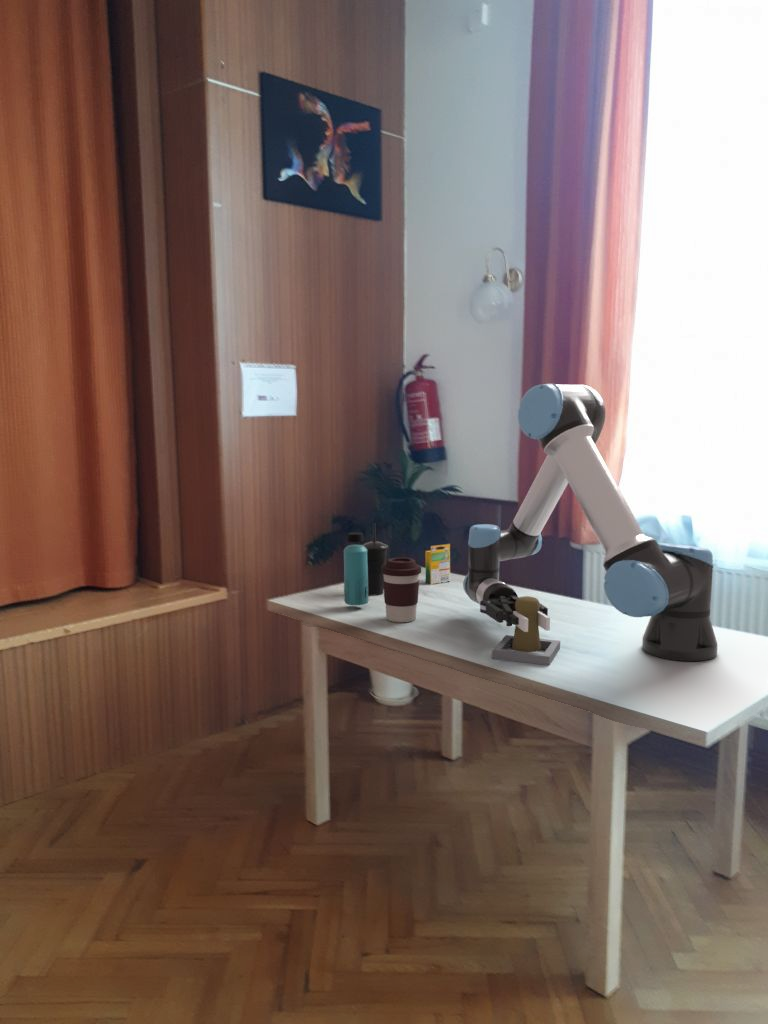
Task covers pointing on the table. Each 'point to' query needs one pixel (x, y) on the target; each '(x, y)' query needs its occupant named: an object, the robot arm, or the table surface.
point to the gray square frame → (529, 657)
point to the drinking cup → (375, 564)
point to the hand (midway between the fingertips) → (537, 624)
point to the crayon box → (438, 564)
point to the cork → (531, 638)
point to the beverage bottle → (355, 572)
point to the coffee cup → (401, 588)
